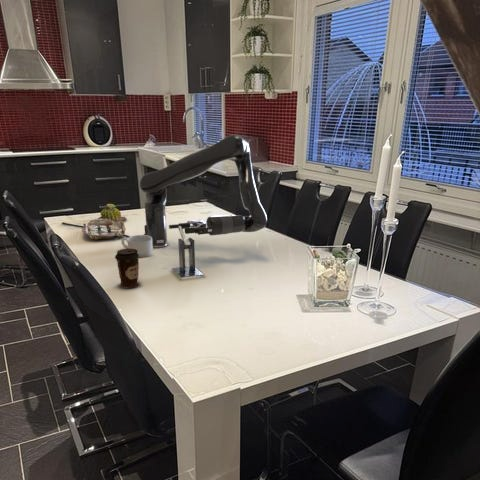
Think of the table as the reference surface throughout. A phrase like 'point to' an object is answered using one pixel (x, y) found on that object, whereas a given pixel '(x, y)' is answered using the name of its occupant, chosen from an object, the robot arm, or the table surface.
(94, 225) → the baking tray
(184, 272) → the bracket
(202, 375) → the table surface
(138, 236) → the teacup
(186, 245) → the lever
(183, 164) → the robot arm
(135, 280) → the coffee cup
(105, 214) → the cactus
